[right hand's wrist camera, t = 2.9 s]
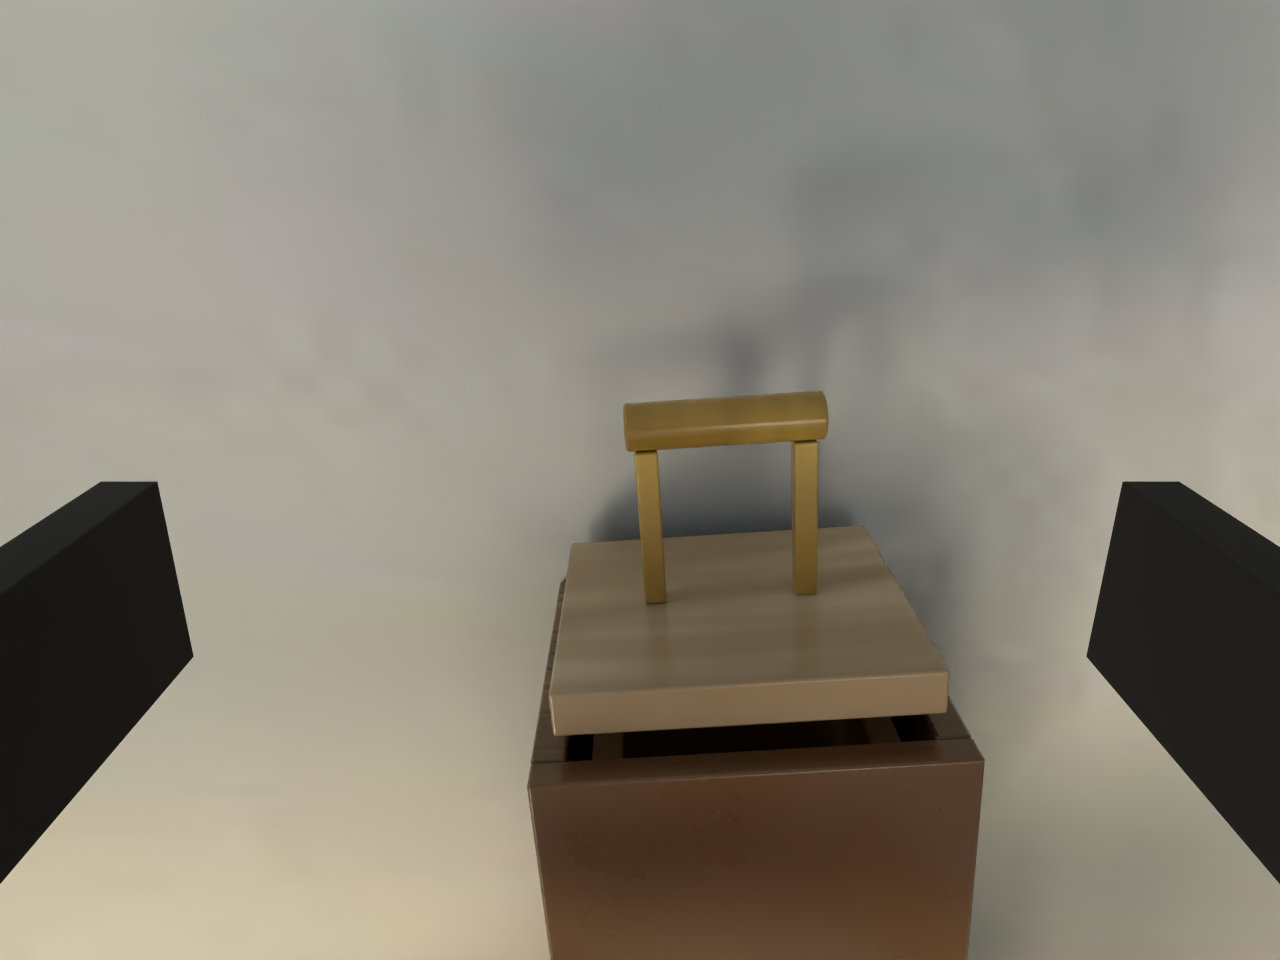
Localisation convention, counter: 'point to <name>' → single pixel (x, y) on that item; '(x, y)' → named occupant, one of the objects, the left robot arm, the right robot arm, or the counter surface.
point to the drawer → (736, 613)
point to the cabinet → (758, 847)
